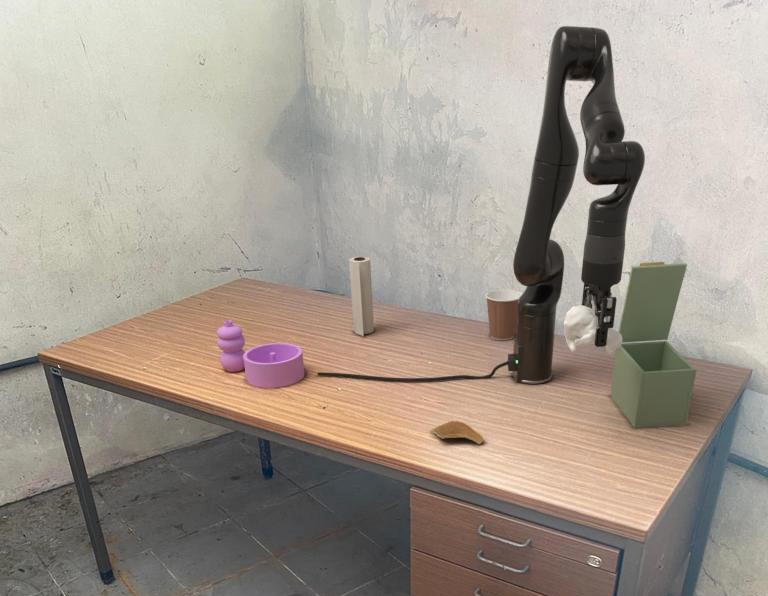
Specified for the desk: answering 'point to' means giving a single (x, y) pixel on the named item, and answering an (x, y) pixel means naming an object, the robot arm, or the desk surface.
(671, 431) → the desk surface
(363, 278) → the beige tall hexagonal prism
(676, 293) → the lid
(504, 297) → the coffee cup
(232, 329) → the container set
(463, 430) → the pottery shard
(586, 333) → the white lumpy piece
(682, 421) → the chest
